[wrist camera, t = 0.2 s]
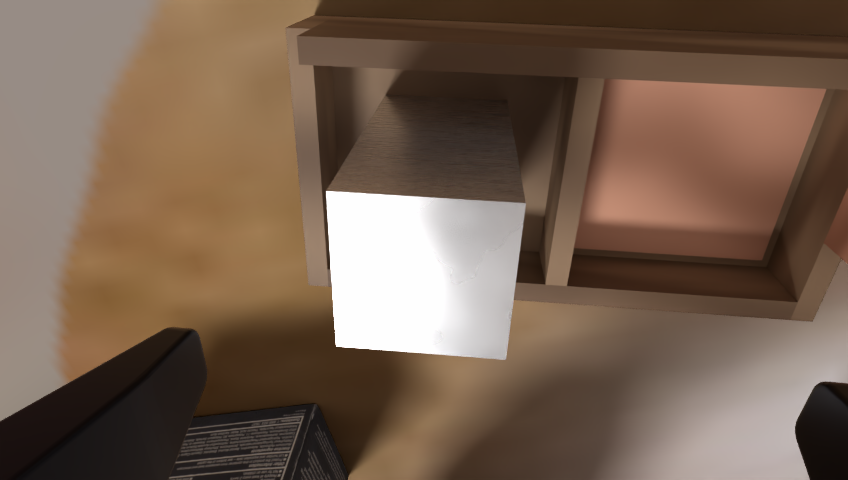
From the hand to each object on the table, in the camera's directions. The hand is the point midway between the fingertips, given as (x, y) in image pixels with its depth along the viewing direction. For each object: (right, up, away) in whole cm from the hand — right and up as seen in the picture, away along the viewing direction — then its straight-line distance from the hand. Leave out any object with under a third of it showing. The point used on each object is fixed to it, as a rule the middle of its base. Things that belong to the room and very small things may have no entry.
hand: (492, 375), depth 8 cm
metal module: (0, +5, +13) cm, 14 cm away
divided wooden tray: (+4, +5, +13) cm, 15 cm away
